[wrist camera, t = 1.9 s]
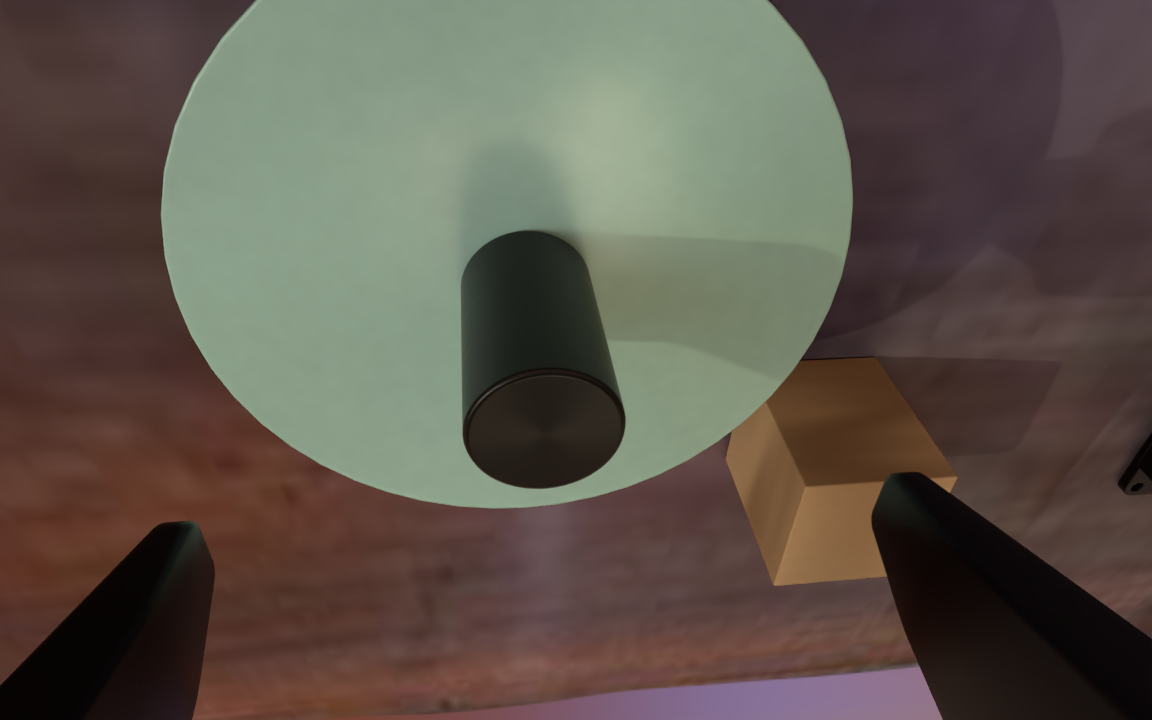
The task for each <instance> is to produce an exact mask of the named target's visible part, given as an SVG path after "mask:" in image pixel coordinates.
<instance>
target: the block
mask: <svg viewBox="0 0 1152 720" xmlns="http://www.w3.org/2000/svg"><path fill="white" fill-rule="evenodd" d="M726 461H727V464H728V466H729V469H730V472H731V474H732V477H733V480H734V482H735V485H736V488H737V490H738V493H739V495H740V498H741V501H742V503H743V506H744V509H745V511H746V514H747V516H748V519H749V522H750V524H751V527H752V530H753V532H754V535H755V538H756V540H757V543H758V545H759V548H760V551H761V553H762V556H763V559H764V561H765V564H766V566H767V569H768V572H769V574H770V577H771V580H772V582H773V585H774V586H778V585H790V584H802V583H814V582H826V581H837V580H849V579H861V578H873V577H885V576H887V575H886V571H885V568H884V565H883V562H882V559H881V555H880V552H879V549H878V546H877V543H876V540H875V536H874V533H873V530H872V524H871V515H872V511H873V508H874V506H875V503H876V501H877V498H878V496H879V493H880V491H881V489H882V486H883V484H884V481H885V479H886V477H888V476H889V475H890V474H892V473H899V472H920V473H922V474H924V475H926V476H927V477H928V478H930V479H931V480H933V481H934V482H935V483H937V484H938V485H940V486H941V487H942V488H944V489H945V490H946V491H948V492H949V493H950V492H951V490H952V488H953V486H954V484H955V482H956V480H957V475H956V473H955V472H954V470H953V469H952V468H951V466H950V465H949V463H948V462H947V460H946V459H945V457H944V456H943V454H942V453H941V452H940V450H939V449H938V447H937V446H936V444H935V443H934V441H933V440H932V438H931V437H930V436H929V434H928V433H927V431H926V430H925V428H924V427H923V425H922V424H921V422H920V421H919V420H918V418H917V417H916V415H915V414H914V412H913V411H912V409H911V408H910V406H909V405H908V404H907V402H906V401H905V399H904V398H903V396H902V395H901V393H900V392H899V391H898V389H897V388H896V386H895V385H894V383H893V382H892V380H891V379H890V377H889V376H888V375H887V373H886V372H885V370H884V369H883V367H882V366H881V364H880V363H879V361H878V360H877V359H876V358H875V357H870V358H849V359H828V360H807V361H799V362H798V364H797V365H796V367H795V368H794V370H793V371H792V372H791V373H790V374H789V376H788V377H787V378H786V379H785V380H784V381H783V383H782V384H781V385H780V386H779V387H778V389H777V390H776V391H775V392H774V393H773V394H772V396H771V397H770V398H769V399H767V400H766V401H765V402H764V403H763V404H762V405H761V406H760V407H759V408H758V409H757V410H756V411H755V412H754V413H753V414H752V415H751V416H749V417H748V418H747V419H746V420H745V421H744V422H743V423H741V424H740V425H739V426H737V427H736V428H735V429H733V430H732V434H731V438H730V442H729V447H728V451H727V456H726Z"/></svg>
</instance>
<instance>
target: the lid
mask: <svg viewBox="0 0 1152 720" xmlns="http://www.w3.org/2000/svg"><path fill="white" fill-rule="evenodd" d="M852 209H853V188H852V173H851V159H850V155H849V150H848V146H847V141H846V137H845V132H844V128H843V124H842V119H841V117H840V114H839V112H838V109H837V107H836V104H835V101H834V99H833V96H832V94H831V91H830V89H829V86H828V84H827V81H826V79H825V77H824V76H823V74H822V72H821V70H820V69H819V67H818V65H817V64H816V62H815V60H814V59H813V57H812V55H811V54H810V52H809V50H808V49H807V47H806V45H805V43H804V42H803V40H802V39H801V38H800V37H799V35H798V34H797V33H796V32H795V31H794V29H793V28H792V27H791V26H790V25H789V23H788V22H787V21H786V20H785V19H784V17H783V16H782V15H781V14H780V13H779V11H778V10H777V9H776V8H775V7H774V5H773V4H772V3H771V2H770V1H768V0H255V1H254V2H253V3H252V4H251V6H250V7H249V8H248V9H247V10H246V11H245V12H244V13H243V14H242V15H241V16H240V18H239V19H238V20H237V21H236V22H235V23H234V24H233V25H232V26H231V27H230V29H229V30H228V31H227V32H226V33H225V35H224V36H223V37H222V38H221V40H220V41H219V43H218V45H217V46H216V48H215V49H214V51H213V52H212V54H211V55H210V57H209V58H208V60H207V62H206V63H205V65H204V66H203V68H202V69H201V71H200V72H199V74H198V75H197V77H196V79H195V80H194V82H193V84H192V87H191V89H190V91H189V94H188V96H187V98H186V101H185V103H184V105H183V108H182V110H181V112H180V115H179V117H178V119H177V121H176V124H175V127H174V131H173V135H172V139H171V143H170V147H169V152H168V156H167V160H166V164H165V168H164V177H163V191H162V205H161V221H162V232H163V243H164V254H165V260H166V263H167V267H168V271H169V275H170V279H171V283H172V287H173V291H174V295H175V298H176V301H177V303H178V305H179V308H180V310H181V312H182V315H183V317H184V320H185V322H186V324H187V327H188V329H189V331H190V334H191V336H192V337H193V339H194V341H195V342H196V344H197V346H198V347H199V349H200V351H201V352H202V354H203V356H204V357H205V359H206V361H207V362H208V364H209V366H210V367H211V369H212V370H213V371H214V372H215V374H216V375H217V376H218V377H219V379H220V380H221V381H222V382H223V384H224V385H225V386H226V387H227V389H228V390H229V391H230V392H231V394H232V395H233V396H234V397H235V398H236V399H237V400H238V401H239V402H240V403H241V404H242V405H243V406H244V407H245V408H246V409H247V410H248V411H249V412H250V413H251V414H252V415H253V416H254V417H255V418H256V419H257V420H258V421H259V422H260V423H261V424H263V425H264V426H265V427H266V428H268V429H269V430H270V431H272V432H273V433H274V434H276V435H277V436H278V437H279V438H281V439H282V440H283V441H285V442H286V443H287V444H289V445H290V446H291V447H293V448H295V449H296V450H298V451H300V452H301V453H303V454H305V455H306V456H308V457H310V458H311V459H313V460H314V461H316V462H318V463H319V464H321V465H323V466H325V467H327V468H329V469H331V470H334V471H336V472H338V473H340V474H342V475H344V476H346V477H348V478H351V479H353V480H355V481H358V482H361V483H363V484H366V485H369V486H372V487H375V488H378V489H380V490H383V491H386V492H389V493H393V494H397V495H401V496H405V497H409V498H413V499H417V500H421V501H427V502H433V503H440V504H446V505H453V506H462V507H478V508H526V507H535V506H544V505H553V504H561V503H566V502H571V501H576V500H581V499H586V498H591V497H595V496H599V495H602V494H606V493H609V492H612V491H616V490H619V489H623V488H626V487H629V486H631V485H634V484H636V483H639V482H641V481H644V480H647V479H649V478H652V477H654V476H657V475H659V474H661V473H663V472H665V471H667V470H669V469H671V468H673V467H675V466H677V465H679V464H681V463H683V462H685V461H687V460H689V459H691V458H692V457H694V456H695V455H697V454H699V453H700V452H702V451H703V450H705V449H707V448H708V447H710V446H711V445H713V444H715V443H716V442H718V441H719V440H720V439H722V438H723V437H724V436H726V435H727V434H728V433H730V432H731V431H732V430H733V429H735V428H736V427H737V426H739V425H740V424H741V423H743V422H744V421H745V420H746V419H747V418H748V417H749V416H751V415H752V414H753V413H754V412H755V411H756V410H757V409H758V408H759V407H760V406H761V405H762V404H763V403H764V402H765V401H766V400H767V399H769V398H770V397H771V396H772V394H773V393H774V392H775V391H776V390H777V389H778V387H779V386H780V385H781V384H782V383H783V381H784V380H785V379H786V378H787V377H788V376H789V374H790V373H791V372H792V371H793V370H794V368H795V367H796V365H797V364H798V362H799V361H800V359H801V358H802V356H803V355H804V354H805V352H806V351H807V349H808V348H809V346H810V345H811V343H812V342H813V340H814V338H815V336H816V334H817V332H818V330H819V328H820V327H821V325H822V323H823V321H824V319H825V317H826V315H827V313H828V311H829V309H830V307H831V304H832V301H833V298H834V296H835V293H836V290H837V287H838V285H839V282H840V279H841V276H842V273H843V269H844V264H845V260H846V255H847V251H848V246H849V242H850V235H851V222H852Z"/></svg>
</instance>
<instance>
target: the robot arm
mask: <svg viewBox="0 0 1152 720" xmlns="http://www.w3.org/2000/svg"><path fill="white" fill-rule="evenodd" d="M1118 486H1119V487H1120V489H1121V490H1122V491H1123V492H1124V493H1125V494H1127V495H1142V494H1152V433H1151V435H1150V436H1149V438H1148V439H1147V441H1146V442H1145V444H1144V445H1143V447H1142V448H1141V449H1140V451H1139V452H1138V454H1137V455H1136V457H1135V458H1134V460H1133V461H1132V463H1131V464H1130V465H1129V467H1128V468H1127V470H1126V471H1125V473H1124V474H1123V476H1122V477H1121V479H1120V480H1119V482H1118ZM871 524H872V530H873V533H874V536H875V540H876V543H877V546H878V549H879V552H880V555H881V559H882V562H883V565H884V568H885V571H886V575H887V578H888V581H889V584H890V587H891V591H892V594H893V597H894V600H895V603H896V607H897V610H898V613H899V616H900V619H901V622H902V625H903V627H904V630H905V633H906V635H907V638H908V640H909V643H910V645H911V648H912V650H913V652H914V655H915V657H916V659H917V661H918V664H919V666H920V668H921V670H922V673H923V675H924V677H925V680H926V682H927V684H928V686H929V689H930V691H931V694H932V696H933V698H934V700H935V703H936V705H937V707H938V710H939V712H940V714H941V716H942V719H943V720H1152V639H1151V638H1150V637H1148V636H1147V635H1146V634H1144V633H1143V632H1141V631H1140V630H1139V629H1137V628H1136V627H1134V626H1133V625H1132V624H1130V623H1129V622H1128V621H1126V620H1125V619H1123V618H1122V617H1121V616H1119V615H1118V614H1116V613H1115V612H1114V611H1112V610H1111V609H1110V608H1108V607H1107V606H1105V605H1104V604H1103V603H1101V602H1100V601H1099V600H1097V599H1096V598H1094V597H1093V596H1092V595H1090V594H1089V593H1087V592H1086V591H1085V590H1083V589H1082V588H1081V587H1079V586H1078V585H1076V584H1075V583H1074V582H1072V581H1071V580H1069V579H1068V578H1067V577H1065V576H1064V575H1063V574H1061V573H1060V572H1058V571H1057V570H1056V569H1054V568H1053V567H1052V566H1050V565H1049V564H1047V563H1046V562H1045V561H1043V560H1042V559H1040V558H1039V557H1038V556H1036V555H1035V554H1034V553H1032V552H1031V551H1029V550H1028V549H1027V548H1025V547H1024V546H1022V545H1021V544H1020V543H1018V542H1017V541H1016V540H1014V539H1013V538H1011V537H1010V536H1009V535H1007V534H1006V533H1004V532H1003V531H1002V530H1000V529H999V528H998V527H996V526H995V525H993V524H992V523H991V522H989V521H988V520H987V519H985V518H984V517H982V516H981V515H980V514H978V513H977V512H975V511H974V510H973V509H971V508H970V507H969V506H967V505H966V504H964V503H963V502H962V501H960V500H959V499H957V498H956V497H955V496H953V495H952V494H951V493H949V492H948V491H946V490H945V489H944V488H942V487H941V486H940V485H938V484H937V483H935V482H934V481H933V480H931V479H930V478H928V477H927V476H926V475H924V474H922V473H920V472H899V473H892V474H890V475H889V476H888V477H886V479H885V481H884V484H883V486H882V489H881V491H880V493H879V496H878V498H877V501H876V503H875V506H874V508H873V511H872V515H871ZM214 579H215V569H214V563H213V560H212V557H211V554H210V552H209V550H208V547H207V545H206V542H205V540H204V537H203V535H202V532H201V530H200V528H199V526H198V525H197V524H196V523H195V522H193V521H179V522H166V523H161V524H159V525H158V526H156V527H155V528H154V529H153V530H152V531H151V532H150V533H149V534H148V535H147V536H146V537H145V538H144V539H143V540H142V541H141V542H140V543H139V544H138V545H137V546H136V547H135V548H134V549H133V550H132V551H131V552H130V553H129V554H128V555H127V556H126V557H125V558H124V559H123V560H122V561H121V562H120V563H119V564H118V565H117V566H116V567H115V568H114V569H113V570H112V572H111V573H110V574H109V575H108V576H107V577H106V578H105V579H104V580H103V581H102V582H101V583H100V584H99V585H98V586H97V587H96V588H95V589H94V590H93V591H92V592H91V593H90V594H89V595H88V596H87V597H86V598H85V599H84V600H83V601H82V602H81V603H80V604H79V605H78V606H77V607H76V608H75V609H74V610H73V611H72V612H71V613H70V615H69V616H68V617H67V618H66V619H65V620H64V621H63V622H62V623H61V624H60V625H59V626H58V627H57V628H56V629H55V630H54V631H53V632H52V633H51V634H50V635H49V636H48V637H47V638H46V639H45V640H44V641H43V642H42V643H41V644H40V645H39V646H38V647H37V648H36V649H35V650H34V651H33V652H32V653H31V654H30V655H29V657H28V658H27V659H26V660H25V661H24V662H23V663H22V664H21V665H20V666H19V667H18V668H17V669H16V670H15V671H14V672H13V673H12V674H11V675H10V676H9V677H8V678H7V679H6V680H5V681H4V682H3V683H2V684H1V685H0V720H192V718H193V713H194V709H195V705H196V700H197V696H198V690H199V684H200V678H201V671H202V664H203V657H204V650H205V643H206V636H207V629H208V622H209V615H210V608H211V601H212V594H213V587H214Z"/></svg>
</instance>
